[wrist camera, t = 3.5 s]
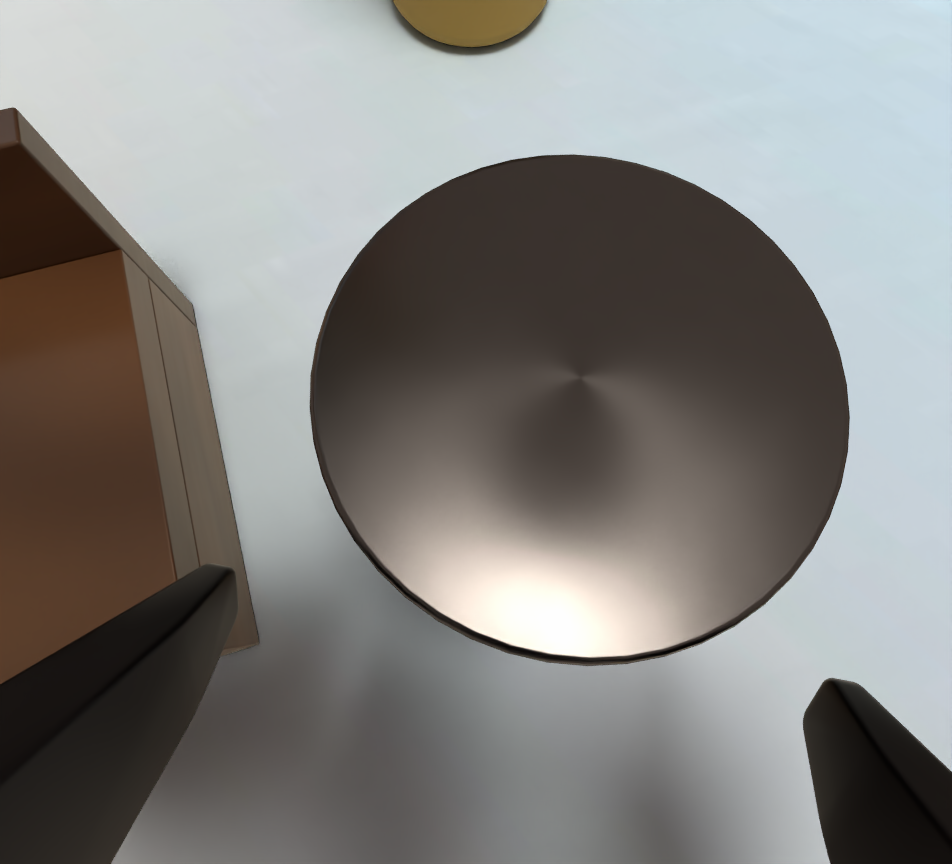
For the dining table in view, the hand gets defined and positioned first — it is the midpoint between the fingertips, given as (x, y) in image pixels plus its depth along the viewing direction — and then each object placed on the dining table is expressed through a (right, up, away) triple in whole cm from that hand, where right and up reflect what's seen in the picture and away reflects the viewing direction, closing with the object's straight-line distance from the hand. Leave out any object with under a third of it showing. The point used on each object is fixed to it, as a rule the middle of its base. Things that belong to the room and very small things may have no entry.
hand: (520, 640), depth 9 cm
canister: (0, 0, +11) cm, 11 cm away
